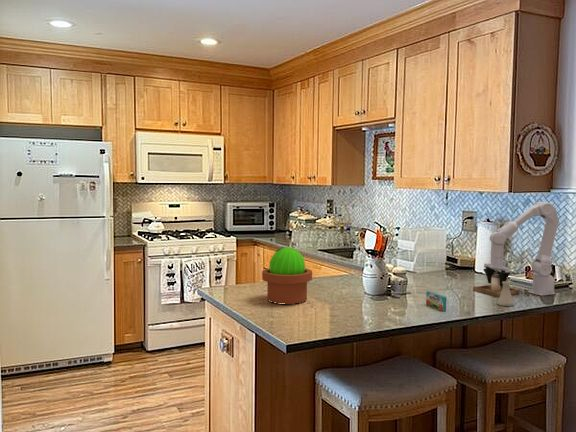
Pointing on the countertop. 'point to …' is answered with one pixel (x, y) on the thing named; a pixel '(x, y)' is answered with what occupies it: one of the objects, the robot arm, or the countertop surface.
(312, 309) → the countertop surface
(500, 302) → the flask
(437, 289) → the countertop surface
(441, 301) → the teal printed box
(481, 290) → the tray
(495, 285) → the pepper shaker
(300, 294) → the potted cactus
